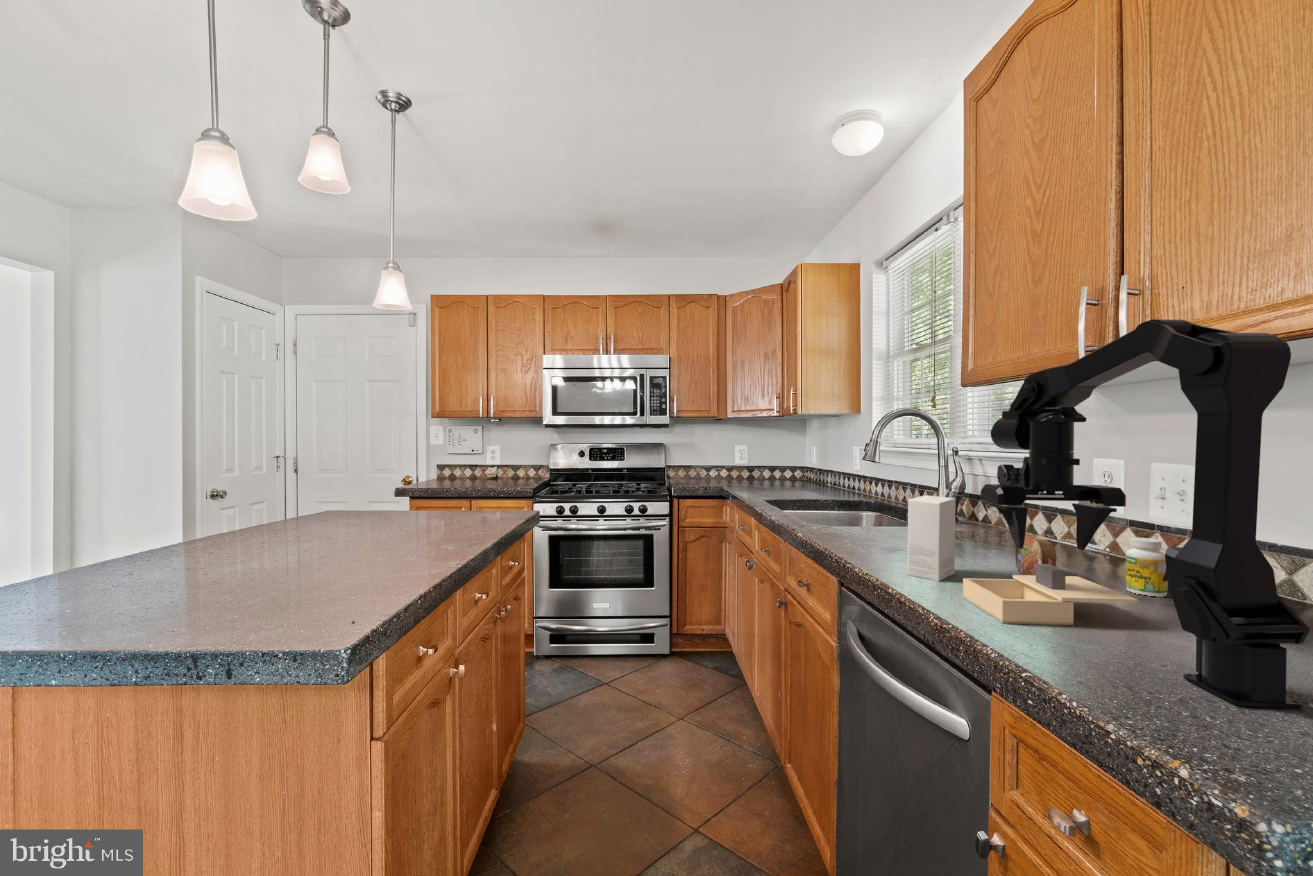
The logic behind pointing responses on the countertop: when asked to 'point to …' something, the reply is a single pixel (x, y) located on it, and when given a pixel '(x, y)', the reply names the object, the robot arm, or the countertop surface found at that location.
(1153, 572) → the supplement bottle
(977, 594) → the carton
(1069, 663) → the countertop surface
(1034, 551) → the tin
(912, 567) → the skincare box
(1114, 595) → the carton lid
